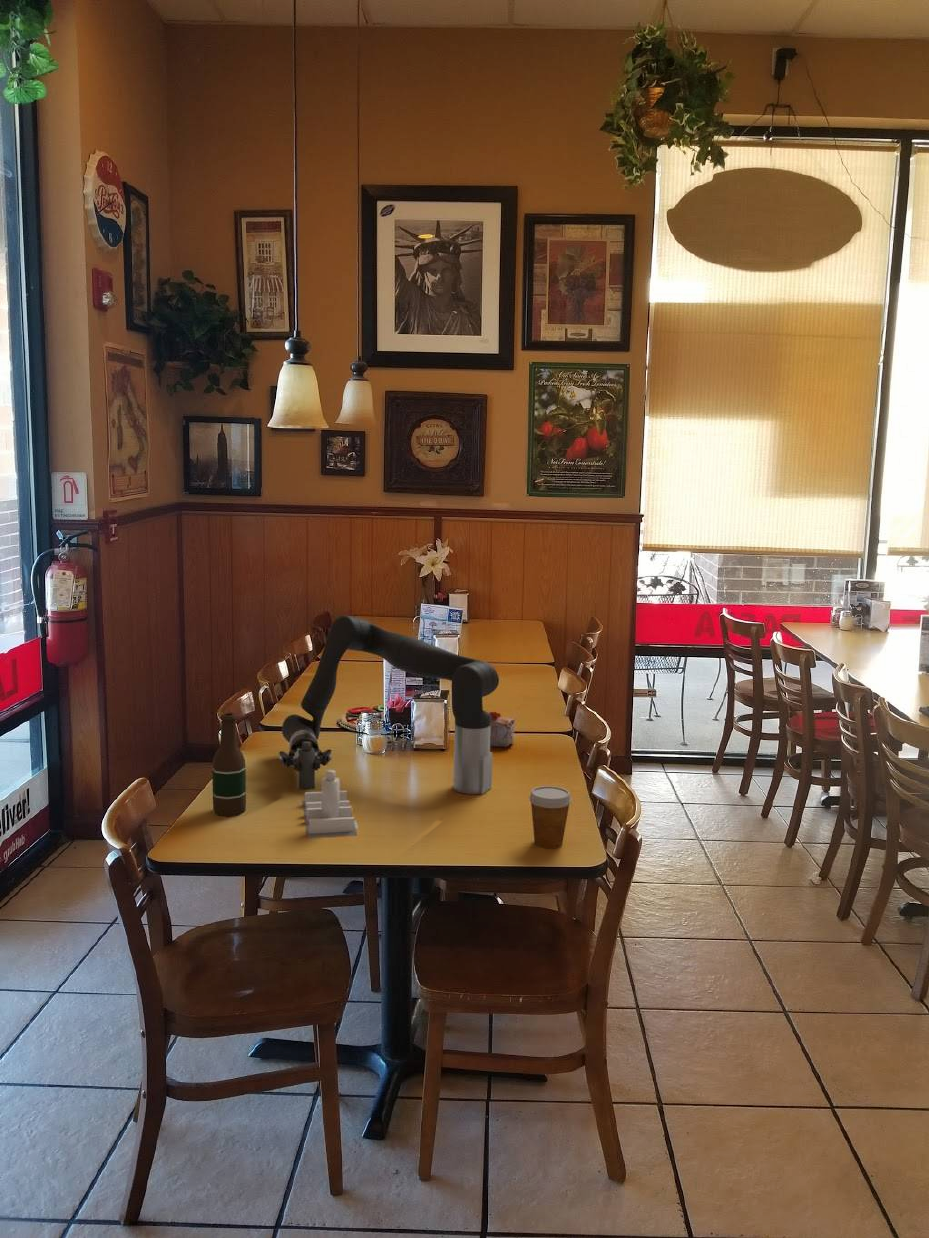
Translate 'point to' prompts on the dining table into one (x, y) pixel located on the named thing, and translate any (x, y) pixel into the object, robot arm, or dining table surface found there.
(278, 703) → the dining table surface
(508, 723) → the food item
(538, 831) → the disposable coffee cup
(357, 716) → the toy pizza
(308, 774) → the dark grey bottle
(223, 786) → the beer bottle
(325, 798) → the white bottle
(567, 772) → the dining table surface
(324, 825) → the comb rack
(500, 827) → the dining table surface
